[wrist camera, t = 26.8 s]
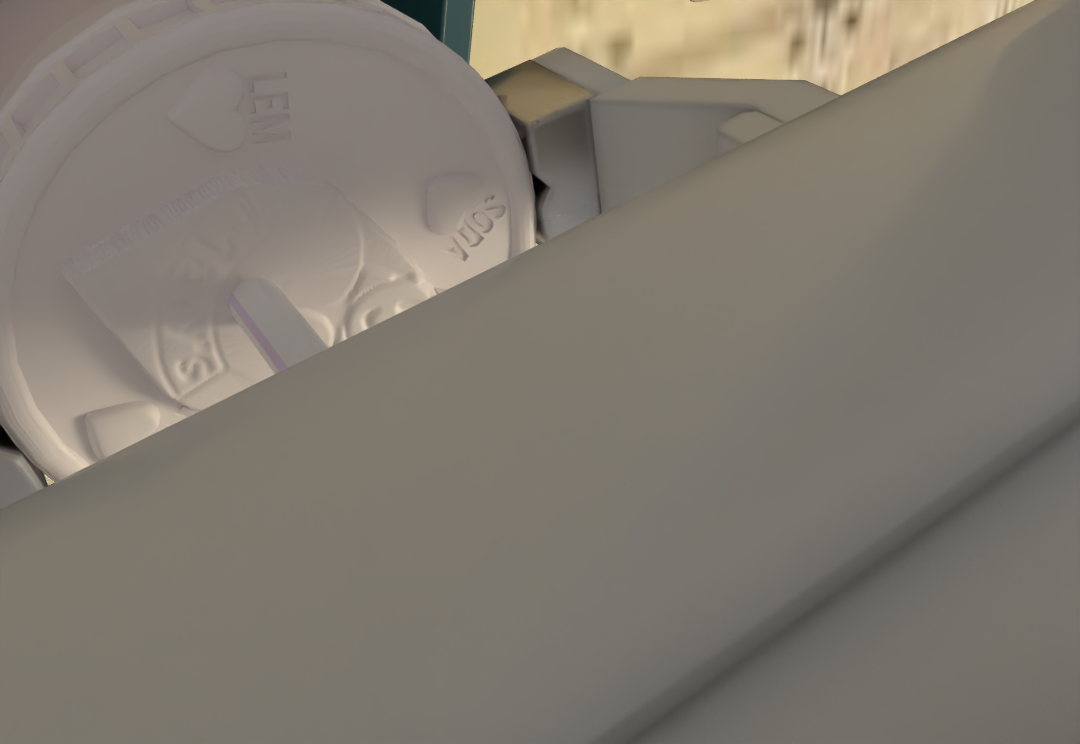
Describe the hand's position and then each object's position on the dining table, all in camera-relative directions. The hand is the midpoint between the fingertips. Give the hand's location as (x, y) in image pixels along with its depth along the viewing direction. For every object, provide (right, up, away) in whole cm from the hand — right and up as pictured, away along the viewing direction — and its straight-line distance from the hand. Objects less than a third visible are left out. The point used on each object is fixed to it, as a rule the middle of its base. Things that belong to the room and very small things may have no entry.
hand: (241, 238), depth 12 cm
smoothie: (-4, +4, +5) cm, 8 cm away
